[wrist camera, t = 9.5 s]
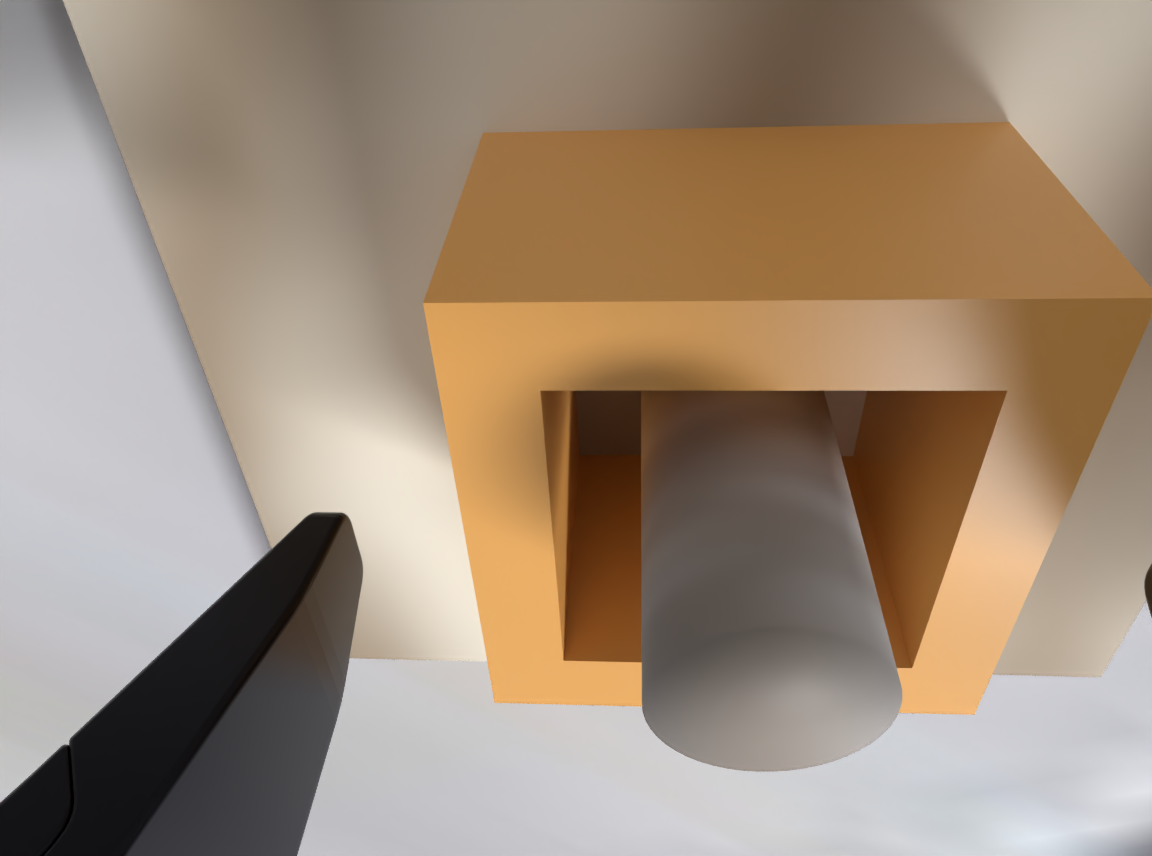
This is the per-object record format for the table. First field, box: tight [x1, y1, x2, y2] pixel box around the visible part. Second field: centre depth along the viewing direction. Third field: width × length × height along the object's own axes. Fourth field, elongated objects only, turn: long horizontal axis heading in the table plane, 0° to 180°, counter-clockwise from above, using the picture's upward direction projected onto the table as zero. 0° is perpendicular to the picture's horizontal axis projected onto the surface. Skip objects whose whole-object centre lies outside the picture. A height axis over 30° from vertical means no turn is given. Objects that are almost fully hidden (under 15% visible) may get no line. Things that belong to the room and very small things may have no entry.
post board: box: [63, 0, 1152, 771], centre depth 11 cm, size 16×16×7 cm
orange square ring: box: [423, 122, 1152, 715], centre depth 11 cm, size 6×6×4 cm
